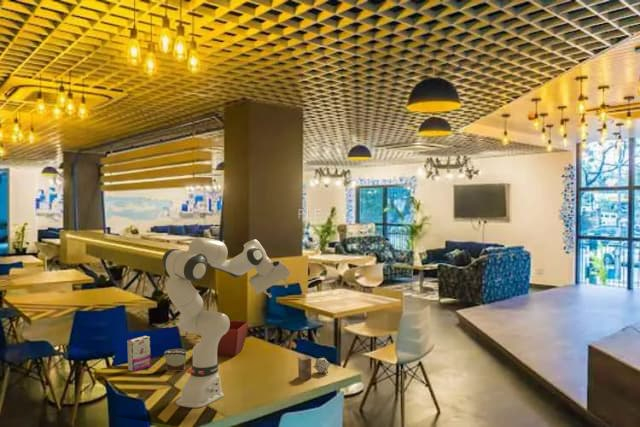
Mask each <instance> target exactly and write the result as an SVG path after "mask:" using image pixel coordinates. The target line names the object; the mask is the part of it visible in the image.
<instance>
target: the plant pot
mask: <svg viewBox="0 0 640 427" xmlns="http://www.w3.org/2000/svg"><path fill="white" fill-rule="evenodd" d="M248 326H249V321H241V320H230V327H229V330H228V331H227V333H226V334H224V335H223V336H222V337H221V339H220V341H219V343H218V348H217V356H220V357H222V356H223V357H236V356H237V355H238V354H240V352H242V350H243V348H244V345H245V343H246V342H245V341H246V337H247V332H248Z"/></svg>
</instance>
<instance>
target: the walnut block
mask: <svg viewBox="0 0 640 427" xmlns="http://www.w3.org/2000/svg"><path fill="white" fill-rule="evenodd" d="M297 360H298V361H297V362H298V363H297V365H298V378H299V379H301V381H303V380H309V379H312V358H311V357H310V356H309V355H304V356H299V357H297Z"/></svg>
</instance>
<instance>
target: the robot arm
mask: <svg viewBox="0 0 640 427" xmlns="http://www.w3.org/2000/svg"><path fill="white" fill-rule="evenodd" d="M243 247H244V248H243V250H242V252H240V253H239V254H237V255H236V256H234V257H232V258H230V259H227V258H228V256H229V255H228V254H229V253H228V252H229V251H228V247H227V245H226V244H225V243H224V242H223V241H221V240H217V239H215V238H214V239H213V238H209V237H195V238H194V239H192V240H191V241H190V242H189V245H188V250H186V251H185V250H181V249H177V248H171V249H169V250H167V251H165V252H164V254H163V256H162V260H161V263H162V267H163V269H164V274H165V276H166V277H168V278H169V279H168V280H167V281H166V283H165V291H166V294H167V296H168V298H169V300H170V301H171V303H172V304H173V305H174V307H175V308H176V309H177V310H178V312H179V313H180V316H179V319H178V324H179V328H180V329H181V330H182V331H184V332H187V333H190V334H194V335H200V336H201V338H200V341H199V342H197V343H196V344H195V345H194V346H193V348H192V364H191V368H188V369H187V370H186V371H187V374H190V375H189V377H188V378H187V380H186V382H185V384H184V385H183V386H182V389H181V395H180V397H179V398H177V400H176V401H175V404H176V405H177V406H180V407H184V408H196V409H197V408H203V407H205V406H207V405H209V404H211V403H213V402H216V401H217V400H219V399H221V398H223V397H225V394H224V392H222V383H221V376H220V375H219V372H218V371H219V362H218V355H217V348H218V343H219V341H220V339H221V337H222V336H223V335H224V334H226V333H227V331H228V330H229V327H230V321H231V320H230V318H229V316H228V315H227V314H225V313H222V312H220V311H213V310H206V309H204V300H203V298H202V296H201V294H199V292H198V291H197V289H196V288H195V287H194V286H193V284H192V282H199V281H200V280H202V279H203V278H204V277H205V275H206V273H207V270H208V266H209V267H211V268H212V269H215V270H218V271H221V272H223V273H227V274H228V275H230V276H231V277H232V278H235V279H236V278H240V277H242V276H243V275H245V274H246V273H248V272H250V271H251V270H253V269H255V271H256V272H257V273H255V274H254V275H252V276H251V277H250V278H249V280H248V282H249V284H250V286H251V287H253V290H254V291H255V294H256V295H260V294H261V293H262V292H263V294H265V295H267V296H268V297H269V298H270V299H271V298H272V297H273V296H272V294H271V292H269V293H268V292H267V289H269V288H271V287H272V286H274V285H276V284H278V283H279V282H281V281H282V280H283V281H284V284H283V286H284V288H285V289H286V288H289V286H288V284H287V282H288V280H287V278H288V277H289V276H291V275H292V274H291V271H290V270H289V268H288V267H287V266H286V265H285V264H284V263H282V261H281V259H276V260H273V261H271V259H270V257H268V254H267V252H266V250H265V248H264V247H263V246H262V244H261V242H260V241H259V240H257V239H250V240H248V241H246V242H245V243H244V244H243Z"/></svg>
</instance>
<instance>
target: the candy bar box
mask: <svg viewBox="0 0 640 427" xmlns="http://www.w3.org/2000/svg"><path fill="white" fill-rule="evenodd" d="M126 343H127V367H128V368H127V370H128V372H129V371H130V372H132V373H134V372H137V371H141V370H144V369H148V368H150V367H152V356H151V354H152V353H151V352H152V351H151V336H149V335H148V336H147V335H143V336H139V337H135V338H132V339H128V340H127V341H126Z"/></svg>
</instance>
